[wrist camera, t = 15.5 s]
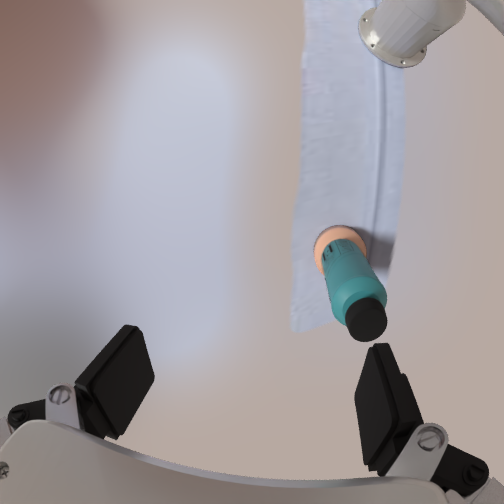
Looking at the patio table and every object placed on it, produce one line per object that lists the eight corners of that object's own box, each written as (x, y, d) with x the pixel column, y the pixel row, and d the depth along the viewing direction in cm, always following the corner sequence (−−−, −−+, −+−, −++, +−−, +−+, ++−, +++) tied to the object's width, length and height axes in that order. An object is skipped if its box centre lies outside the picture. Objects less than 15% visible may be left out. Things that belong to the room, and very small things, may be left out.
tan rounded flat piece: (345, 215, 43) (349, 219, 40) (370, 255, 44) (375, 261, 41) (303, 244, 45) (304, 250, 42) (330, 281, 47) (333, 289, 44)
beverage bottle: (324, 230, 41) (346, 290, 22) (365, 239, 40) (411, 302, 22) (314, 269, 43) (324, 349, 25) (353, 277, 43) (385, 357, 24)
